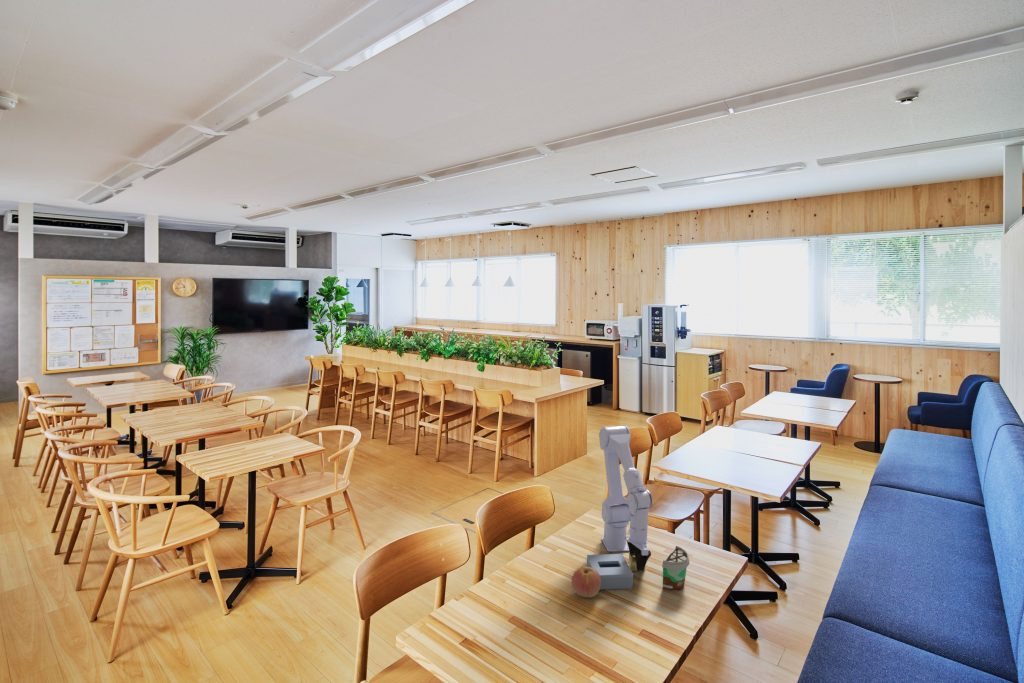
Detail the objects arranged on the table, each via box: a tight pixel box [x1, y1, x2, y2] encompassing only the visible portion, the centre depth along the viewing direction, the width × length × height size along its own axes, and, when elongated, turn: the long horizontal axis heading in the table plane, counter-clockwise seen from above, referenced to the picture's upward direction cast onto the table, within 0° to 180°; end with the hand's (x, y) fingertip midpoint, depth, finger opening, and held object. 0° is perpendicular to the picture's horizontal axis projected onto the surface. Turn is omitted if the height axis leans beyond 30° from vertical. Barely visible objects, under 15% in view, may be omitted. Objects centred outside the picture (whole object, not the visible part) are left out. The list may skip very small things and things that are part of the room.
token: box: [628, 553, 646, 572], centre depth 174 cm, size 2×5×5 cm, turn 95°
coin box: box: [586, 553, 634, 591], centre depth 168 cm, size 12×12×5 cm
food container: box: [661, 545, 690, 592], centre depth 165 cm, size 12×6×10 cm, turn 143°
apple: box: [571, 566, 601, 599], centre depth 159 cm, size 9×9×8 cm
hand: (637, 564), depth 174 cm, fingers open, 6 cm apart
